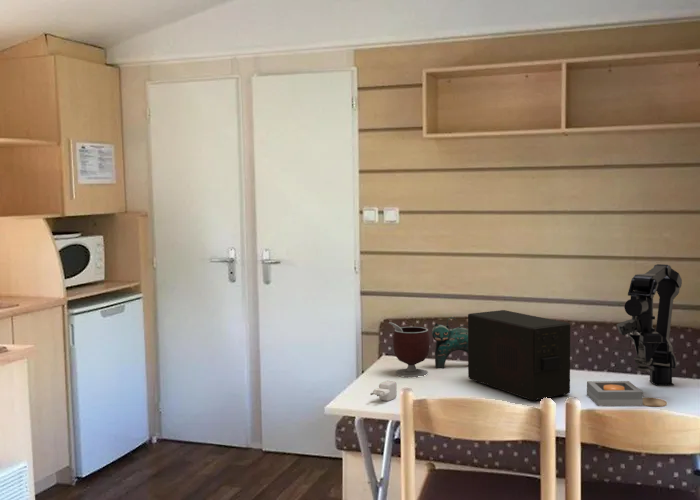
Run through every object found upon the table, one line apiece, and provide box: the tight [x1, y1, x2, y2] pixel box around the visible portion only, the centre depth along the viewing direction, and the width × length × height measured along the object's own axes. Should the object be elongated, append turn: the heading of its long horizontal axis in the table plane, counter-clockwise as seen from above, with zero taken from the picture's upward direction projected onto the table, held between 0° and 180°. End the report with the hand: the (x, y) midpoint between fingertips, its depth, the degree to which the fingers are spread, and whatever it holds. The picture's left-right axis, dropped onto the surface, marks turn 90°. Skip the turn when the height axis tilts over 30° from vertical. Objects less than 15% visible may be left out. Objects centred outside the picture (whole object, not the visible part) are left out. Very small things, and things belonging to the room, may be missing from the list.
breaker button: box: [603, 384, 625, 390], centre depth 253 cm, size 7×7×2 cm
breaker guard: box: [586, 380, 644, 407], centre depth 253 cm, size 14×14×4 cm
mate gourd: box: [388, 321, 431, 378], centre depth 293 cm, size 16×14×20 cm
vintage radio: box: [467, 309, 571, 402], centre depth 269 cm, size 38×20×25 cm, turn 28°
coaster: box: [643, 397, 668, 408], centre depth 249 cm, size 9×9×1 cm
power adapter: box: [370, 380, 398, 402], centre depth 256 cm, size 11×5×6 cm, turn 144°
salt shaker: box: [633, 338, 653, 372], centre depth 257 cm, size 6×6×12 cm
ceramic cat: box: [431, 317, 468, 369], centre depth 303 cm, size 20×6×20 cm, turn 95°
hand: (643, 358), depth 257 cm, fingers closed on salt shaker, 8 cm apart
